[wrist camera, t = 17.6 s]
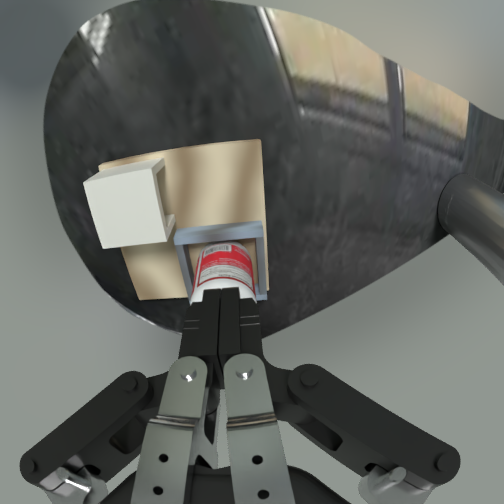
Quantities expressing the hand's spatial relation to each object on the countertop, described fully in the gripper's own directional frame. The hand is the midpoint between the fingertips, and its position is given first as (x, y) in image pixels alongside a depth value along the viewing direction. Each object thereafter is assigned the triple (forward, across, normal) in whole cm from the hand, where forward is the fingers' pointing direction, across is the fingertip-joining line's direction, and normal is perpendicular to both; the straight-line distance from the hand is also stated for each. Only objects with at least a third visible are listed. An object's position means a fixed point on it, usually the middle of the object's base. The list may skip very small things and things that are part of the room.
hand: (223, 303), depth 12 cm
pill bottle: (+18, +2, +9) cm, 20 cm away
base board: (+19, +5, +5) cm, 20 cm away
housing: (+17, +10, 0) cm, 20 cm away
